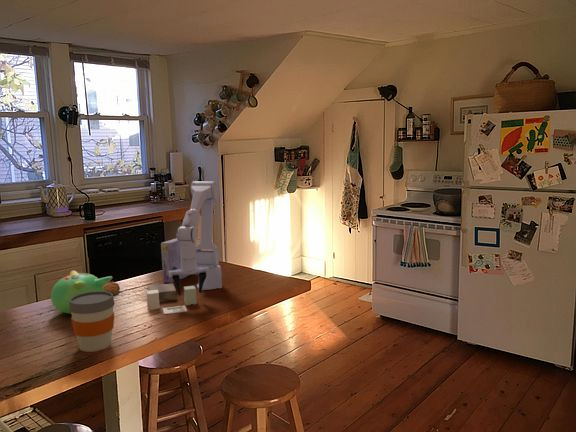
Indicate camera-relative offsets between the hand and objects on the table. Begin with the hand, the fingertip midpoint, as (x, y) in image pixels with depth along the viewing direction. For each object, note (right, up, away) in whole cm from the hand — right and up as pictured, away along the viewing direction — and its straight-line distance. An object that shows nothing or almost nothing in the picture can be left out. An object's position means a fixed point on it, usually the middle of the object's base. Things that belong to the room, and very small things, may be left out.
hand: (189, 293), depth 184 cm
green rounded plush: (-38, -6, -7) cm, 39 cm away
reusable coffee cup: (-21, -10, -36) cm, 43 cm away
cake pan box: (-11, +1, +34) cm, 36 cm away
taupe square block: (-13, -3, +8) cm, 15 cm away
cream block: (-13, -5, -4) cm, 14 cm away
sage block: (0, -4, +1) cm, 4 cm away
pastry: (-35, -2, +15) cm, 38 cm away
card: (-4, -5, -7) cm, 10 cm away
